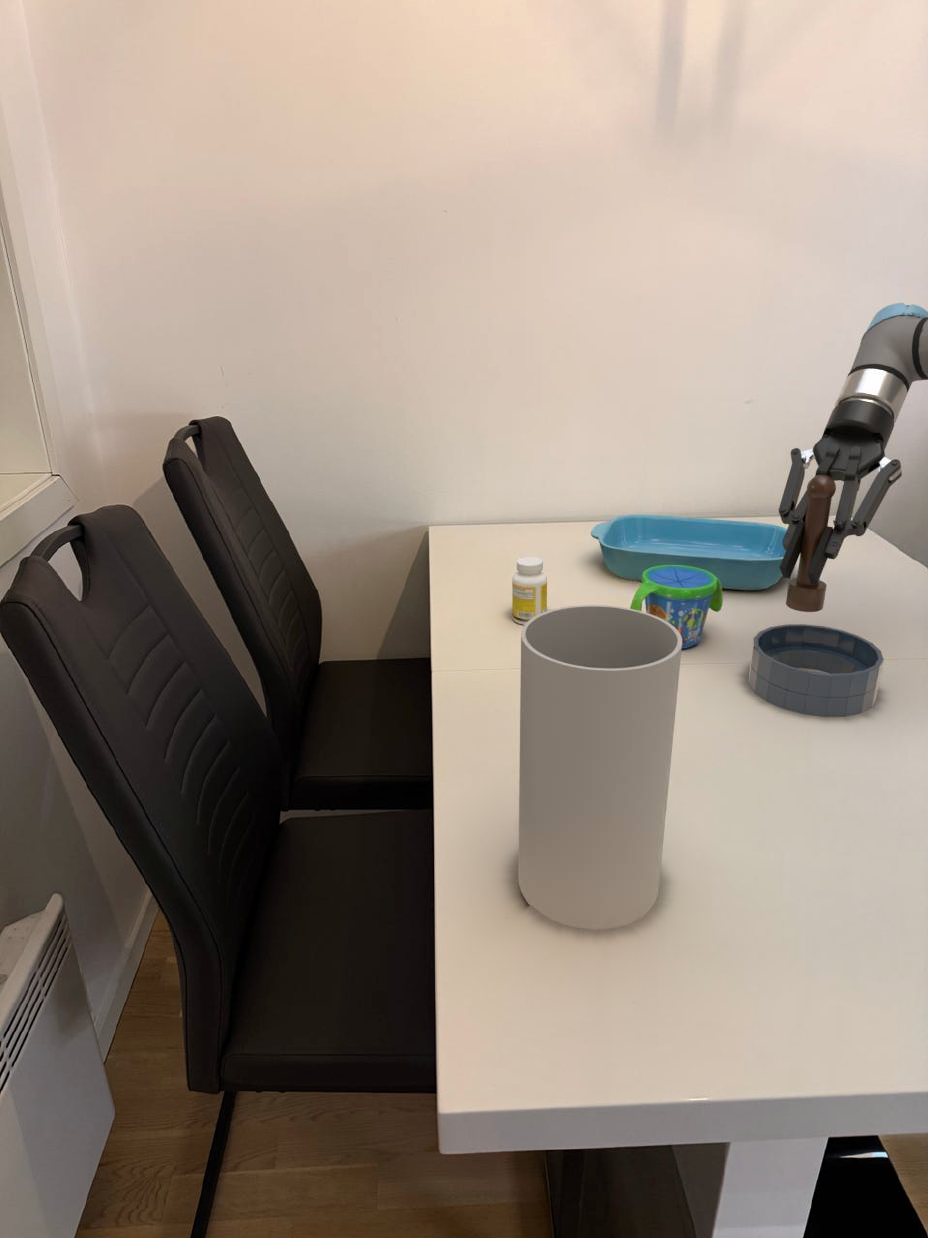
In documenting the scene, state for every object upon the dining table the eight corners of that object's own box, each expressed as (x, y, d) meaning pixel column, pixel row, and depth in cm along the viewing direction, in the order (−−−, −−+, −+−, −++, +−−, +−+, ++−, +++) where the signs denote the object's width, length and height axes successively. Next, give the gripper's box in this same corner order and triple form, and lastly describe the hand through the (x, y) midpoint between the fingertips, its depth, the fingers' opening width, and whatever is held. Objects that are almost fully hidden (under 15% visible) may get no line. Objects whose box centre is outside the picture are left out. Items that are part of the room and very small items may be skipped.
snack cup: (697, 619, 131) (703, 557, 127) (740, 645, 122) (748, 580, 118) (609, 635, 126) (613, 571, 122) (646, 663, 117) (651, 595, 113)
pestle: (827, 603, 106) (847, 473, 99) (817, 614, 102) (838, 481, 96) (791, 596, 108) (808, 469, 102) (781, 607, 105) (798, 476, 98)
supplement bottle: (536, 610, 136) (537, 553, 132) (552, 622, 131) (554, 563, 127) (506, 616, 134) (506, 558, 130) (521, 628, 129) (522, 568, 125)
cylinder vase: (645, 843, 81) (666, 604, 71) (669, 939, 70) (697, 670, 60) (516, 841, 82) (519, 605, 72) (519, 936, 70) (523, 670, 61)
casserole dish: (578, 581, 147) (580, 542, 145) (601, 543, 167) (603, 508, 164) (802, 604, 136) (808, 562, 133) (799, 561, 156) (804, 523, 153)
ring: (885, 685, 110) (894, 640, 107) (858, 736, 99) (868, 687, 96) (768, 658, 118) (774, 615, 116) (731, 701, 107) (737, 655, 104)
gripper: (933, 440, 104) (870, 604, 99) (806, 428, 113) (742, 577, 108) (930, 401, 98) (863, 574, 93) (796, 392, 108) (728, 548, 102)
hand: (798, 575), depth 101 cm, fingers closed on pestle, 3 cm apart
